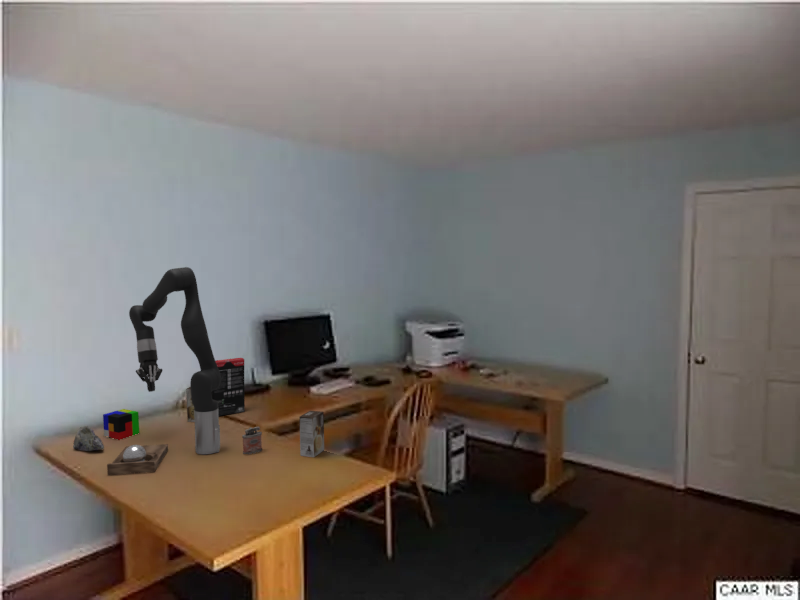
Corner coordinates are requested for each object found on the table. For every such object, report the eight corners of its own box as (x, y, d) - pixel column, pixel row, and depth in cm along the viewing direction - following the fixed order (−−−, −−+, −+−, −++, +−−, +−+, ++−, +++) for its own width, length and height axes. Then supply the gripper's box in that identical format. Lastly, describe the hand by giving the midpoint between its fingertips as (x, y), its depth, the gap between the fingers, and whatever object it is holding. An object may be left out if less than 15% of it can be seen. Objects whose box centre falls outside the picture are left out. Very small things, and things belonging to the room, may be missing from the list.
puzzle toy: (104, 436, 254) (103, 414, 253) (124, 430, 263) (123, 408, 262) (119, 440, 249) (118, 417, 248) (139, 433, 258) (138, 411, 257)
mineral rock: (104, 453, 234) (103, 428, 233) (74, 458, 228) (72, 433, 227) (102, 443, 245) (101, 420, 244) (73, 448, 239) (71, 424, 238)
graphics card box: (240, 409, 297) (239, 356, 295) (246, 412, 292) (244, 358, 290) (207, 415, 286) (205, 360, 284) (213, 418, 281) (211, 362, 279)
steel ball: (139, 448, 215) (138, 470, 215) (151, 443, 223) (149, 464, 223) (119, 446, 216) (117, 468, 216) (131, 441, 224) (130, 462, 224)
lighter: (244, 455, 230) (244, 430, 230) (241, 453, 233) (240, 428, 232) (263, 451, 236) (263, 426, 235) (259, 448, 238) (259, 424, 237)
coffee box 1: (211, 418, 281) (210, 385, 279) (204, 422, 274) (203, 388, 273) (193, 417, 282) (192, 385, 281) (186, 421, 276) (185, 388, 274)
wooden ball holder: (168, 450, 237) (167, 440, 237) (154, 472, 213) (154, 461, 213) (126, 452, 234) (125, 442, 234) (107, 475, 211) (107, 464, 210)
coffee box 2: (310, 448, 239) (310, 410, 237) (324, 450, 237) (324, 411, 235) (299, 455, 230) (299, 416, 229) (314, 457, 228) (313, 417, 226)
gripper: (141, 348, 240) (146, 390, 237) (165, 349, 252) (170, 388, 249) (127, 352, 243) (132, 393, 239) (152, 353, 255) (157, 392, 252)
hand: (151, 391), depth 244 cm, fingers closed
